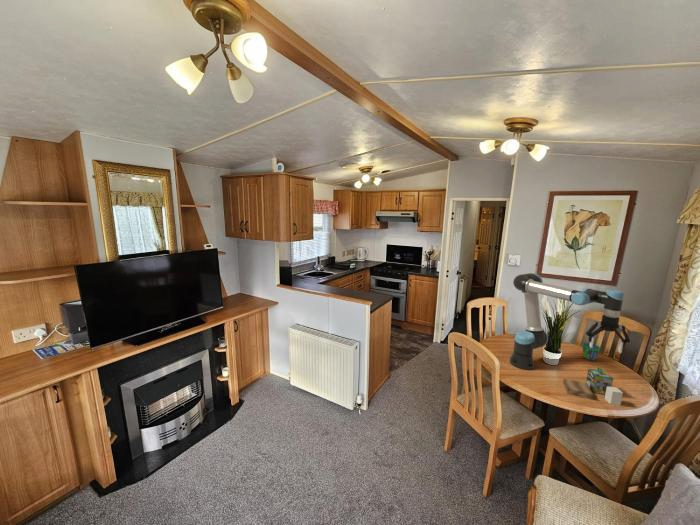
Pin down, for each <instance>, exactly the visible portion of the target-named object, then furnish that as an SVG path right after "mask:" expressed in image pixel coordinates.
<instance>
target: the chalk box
mask: <svg viewBox="0 0 700 525" xmlns="http://www.w3.org/2000/svg"><path fill="white" fill-rule="evenodd" d="M596 367H597V368H587V369H588V370H587V376H586V382H585V383H587V384H588V386H589V388H590V389H591V391H592V393H593V394H601V395H605V394H606V388H607V386H608V387H613V382H614V377H613V376H612V375H611V374H609V373H608V372H607V371H606V370H602V368H600V367H599V365H597V366H596Z"/></svg>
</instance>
